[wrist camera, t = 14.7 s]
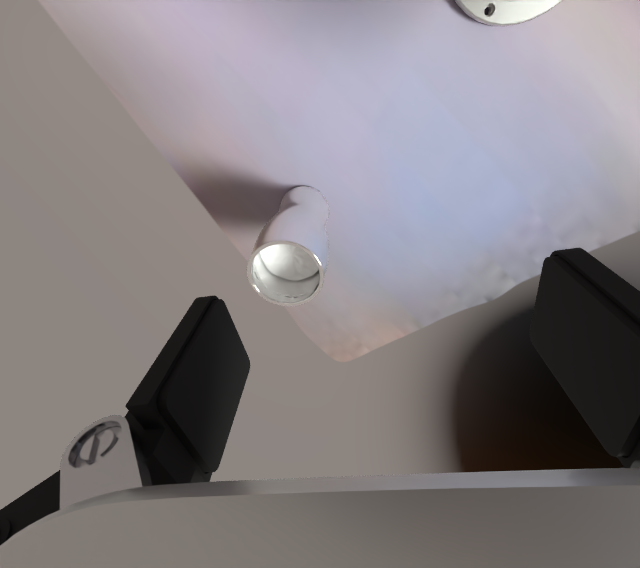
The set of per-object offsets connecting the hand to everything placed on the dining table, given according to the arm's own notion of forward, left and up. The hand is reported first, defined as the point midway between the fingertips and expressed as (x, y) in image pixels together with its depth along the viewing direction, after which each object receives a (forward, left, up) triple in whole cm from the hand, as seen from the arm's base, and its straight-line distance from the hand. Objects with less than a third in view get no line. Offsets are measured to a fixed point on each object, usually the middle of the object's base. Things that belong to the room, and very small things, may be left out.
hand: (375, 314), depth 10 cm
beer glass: (+7, +7, -30) cm, 32 cm away
